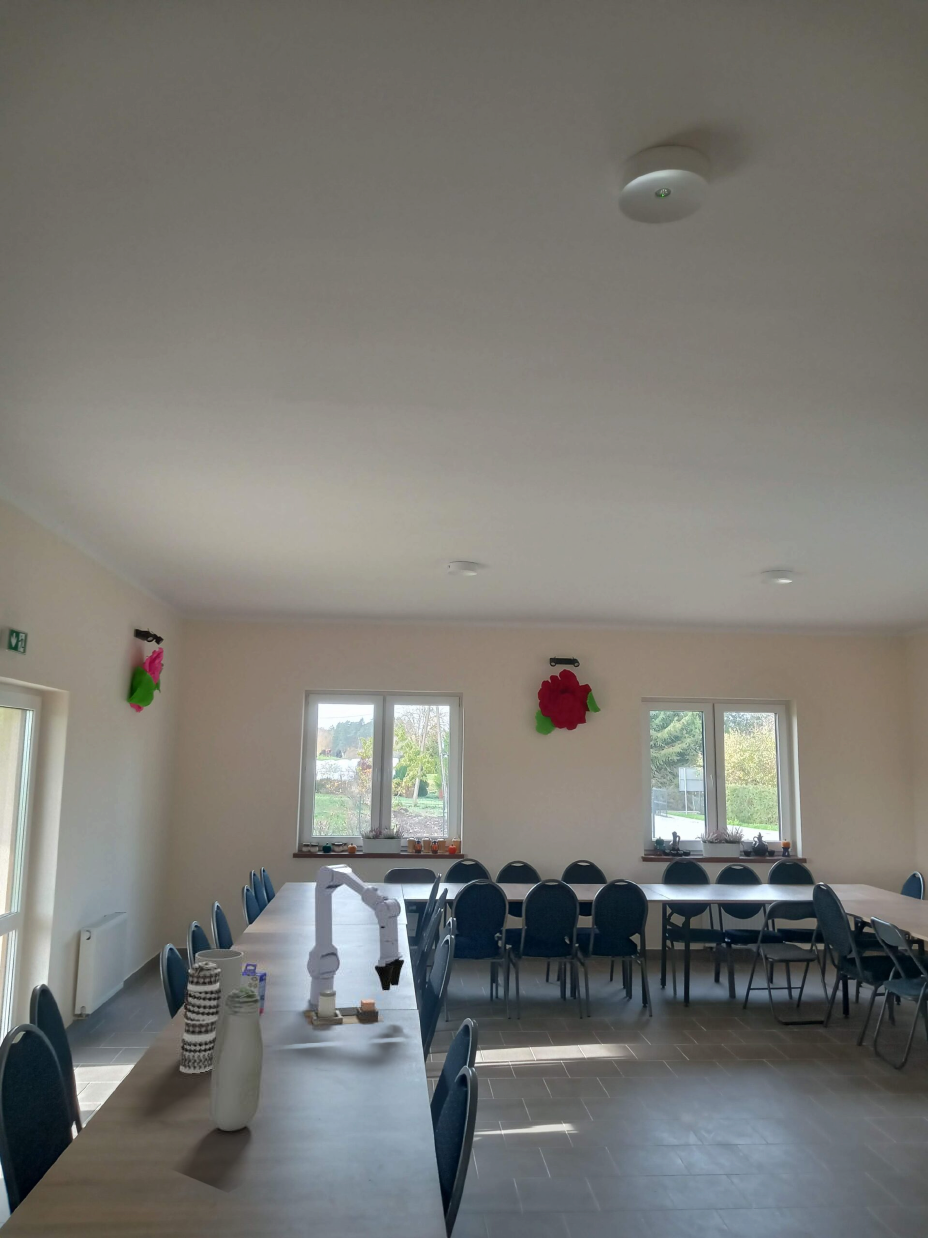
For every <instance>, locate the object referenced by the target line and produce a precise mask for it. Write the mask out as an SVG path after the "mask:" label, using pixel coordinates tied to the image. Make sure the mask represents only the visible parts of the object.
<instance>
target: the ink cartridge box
mask: <svg viewBox="0 0 928 1238" xmlns="http://www.w3.org/2000/svg"><path fill="white" fill-rule="evenodd" d="M257 965H258V964H255V963H246V964H245V966H244V970H242V978H241V988H244V987H250V988H252V989H254V990H256V991H257V993H258V995H259V998H260V1010H259V1014H260V1013H263V1012H264V1011H265V1000H266V984H267V972H262V971H261V972H260V971H256V969H257ZM248 967H252V968H248Z"/></svg>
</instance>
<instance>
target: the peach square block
mask: <svg viewBox="0 0 928 1238" xmlns="http://www.w3.org/2000/svg"><path fill="white" fill-rule="evenodd" d="M375 1004H376V1002H375V1000H374V999H373V998H369V999H368V998H367V999H361V1000H360V1007H361V1011H375V1007H376V1005H375Z"/></svg>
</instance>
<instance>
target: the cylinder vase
mask: <svg viewBox="0 0 928 1238" xmlns="http://www.w3.org/2000/svg"><path fill="white" fill-rule="evenodd" d="M194 959H195V960H194V964H196V963H199V962H213V963H216V964H217V966H218V968H220V969H221V970H220V971H219V988H218V989H220V990H221V993H219V994H218V995H219V996H220V997H221V998H220V999H219V1000H217V1003H218V1004H219V1005H220V1006H219V1007H218V1008H217V1009H216V1010H218V1011H219V1013H218V1014H217V1015H218V1019H217V1020H216V1023H215V1029H216V1032H215V1037H216V1038H217V1035H218V1032H219V1030H220V1027H221V1023H222V1019H223V1015H224V1012H225V1001H226V998H227V996H228V995H229V994H230V993H231V992H232V991H233V990H235V989H238V988H241V978H242V971H243V964H244V963H243V962H244V952H242V951H239V950H236V949H228V948H227V949H226V948H225V949H223V948H220V949H219V948H218V949H209V950H208V949H207V950H202V951H198V952H197V953H195V958H194ZM215 1042H216V1041H215ZM215 1042H214V1043H215Z"/></svg>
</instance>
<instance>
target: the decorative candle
mask: <svg viewBox="0 0 928 1238" xmlns="http://www.w3.org/2000/svg"><path fill="white" fill-rule="evenodd" d="M220 970H221V969H220V968H218V966H217V964H216V963H213V962H199V963H196V964H195V963H194V964H192V966H191V968H190V969H188V972H189V976H188V982H187V987H185V990H183V993H184V995H185V997H184V1005H183V1009H184V1013H183V1021H184V1023H185V1024H184V1030H183V1038H182V1039H181V1043H182V1045H181V1047H180V1048H181V1052H180V1060H179V1071H180V1072H182V1073H184V1074H192V1073H196V1074H201V1073H200V1072H204V1073H206V1072H205V1071H208V1070H210V1069H212V1062H213V1051H214V1045H215V1043H214V1042H215V1041H216V1037H215V1032H216V1029H215V1023H216V1020H217V1019H218V1015H217V1014H218V1013H219V1011H218V1010H216V1009H217V1008H218V1007H219V1006H220V1005H219V1004H218V1003H217V1000H219V999H220V998H221V997H220V996H219V995H218V994H219V993H221V990H220V989H218V988H219V971H220ZM210 1071H211V1070H210ZM208 1072H209V1071H208ZM192 1075H193V1074H192Z"/></svg>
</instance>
